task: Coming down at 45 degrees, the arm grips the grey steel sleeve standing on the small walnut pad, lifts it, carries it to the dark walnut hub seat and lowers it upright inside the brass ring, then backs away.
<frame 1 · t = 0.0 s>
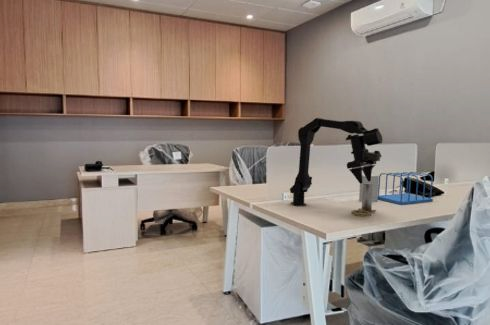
hand: (365, 182, 157), 15 cm above the table, tool pointing down, fingers open, 9 cm apart
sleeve: (366, 210, 166), point 1 cm above the table, touching stand pad
stand pad: (366, 212, 166), on the table
hub seat: (361, 215, 159), on the table
skincare box: (368, 202, 190), on the table
file sorter: (403, 201, 196), on the table
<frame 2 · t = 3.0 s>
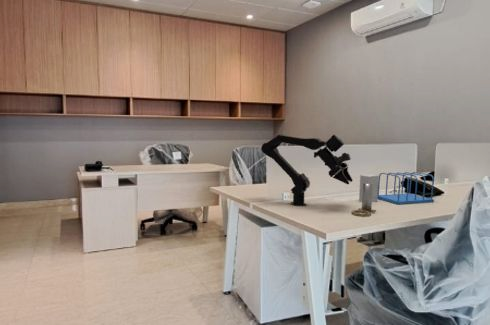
hand: (350, 182, 168), 13 cm above the table, tool tilted 45°, fingers open, 9 cm apart
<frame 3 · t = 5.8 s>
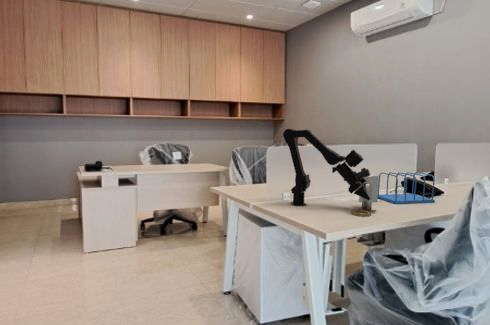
hand: (370, 198, 165), 7 cm above the table, tool tilted 45°, fingers closed on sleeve, 4 cm apart
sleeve: (366, 210, 166), point 1 cm above the table, touching gripper, stand pad
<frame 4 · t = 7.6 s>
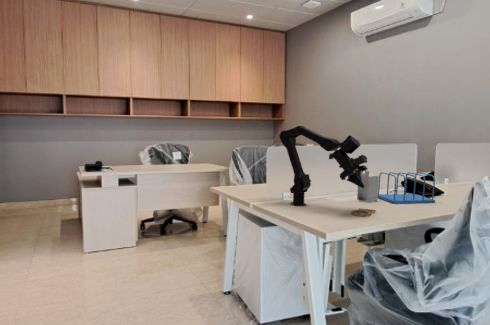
hand: (365, 186, 157), 13 cm above the table, tool tilted 45°, fingers closed on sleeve, 4 cm apart
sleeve: (362, 199, 159), point 7 cm above the table, touching gripper
when the fingers open (8 cm above the table, at t = 9.2 s): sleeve drops 2 cm, resting on hub seat.
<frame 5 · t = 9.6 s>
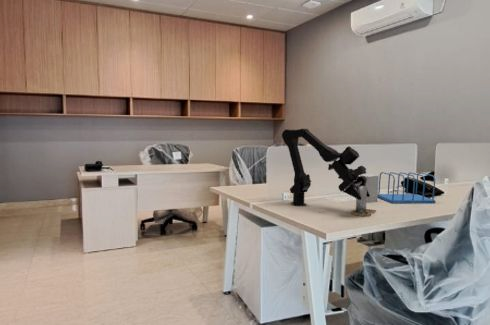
hand: (364, 198, 157), 8 cm above the table, tool tilted 45°, fingers open, 9 cm apart
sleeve: (360, 214, 159), point 1 cm above the table, touching hub seat
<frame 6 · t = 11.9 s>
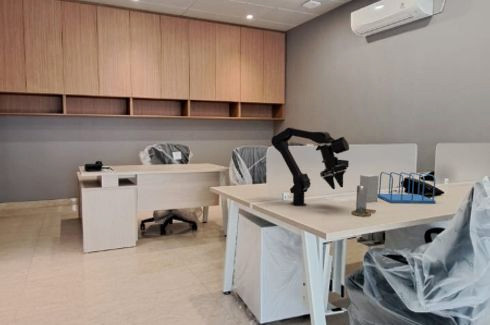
hand: (337, 188, 167), 11 cm above the table, tool tilted 20°, fingers open, 9 cm apart
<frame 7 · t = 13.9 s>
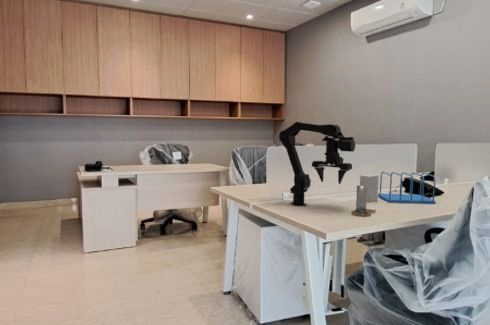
hand: (330, 182, 169), 13 cm above the table, tool pointing down, fingers open, 9 cm apart
at the end: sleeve 0.2 cm from the hub seat (horizontally); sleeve tilted 0°; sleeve point 0.5 cm above the table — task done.
